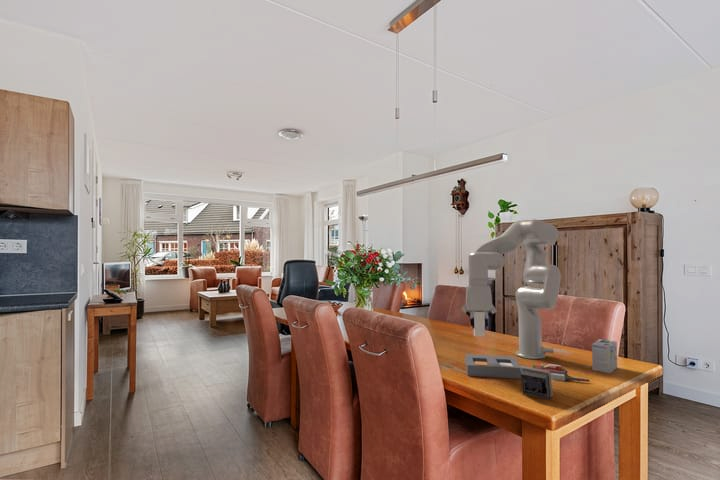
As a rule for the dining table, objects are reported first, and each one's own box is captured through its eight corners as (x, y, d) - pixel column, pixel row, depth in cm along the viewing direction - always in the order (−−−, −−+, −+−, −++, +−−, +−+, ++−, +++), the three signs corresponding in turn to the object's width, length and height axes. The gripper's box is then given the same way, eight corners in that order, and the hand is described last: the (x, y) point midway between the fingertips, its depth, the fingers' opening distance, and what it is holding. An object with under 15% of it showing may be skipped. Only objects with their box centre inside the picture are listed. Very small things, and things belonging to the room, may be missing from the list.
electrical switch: (553, 397, 124) (551, 369, 124) (549, 403, 120) (548, 374, 119) (523, 390, 130) (522, 364, 129) (519, 396, 126) (517, 369, 125)
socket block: (514, 366, 157) (514, 355, 157) (522, 378, 141) (522, 367, 142) (465, 363, 161) (464, 353, 161) (467, 375, 146) (467, 364, 146)
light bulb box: (599, 364, 159) (598, 338, 159) (618, 367, 154) (617, 341, 154) (591, 370, 151) (591, 343, 151) (611, 373, 146) (610, 346, 147)
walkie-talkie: (529, 377, 144) (590, 385, 135) (528, 366, 144) (589, 373, 135) (529, 371, 152) (587, 378, 143) (529, 360, 152) (587, 366, 143)
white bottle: (483, 334, 154) (483, 305, 155) (484, 337, 150) (484, 307, 151) (473, 334, 155) (473, 305, 155) (474, 336, 151) (474, 306, 152)
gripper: (498, 282, 155) (499, 327, 155) (456, 282, 159) (457, 325, 158) (501, 284, 148) (502, 330, 147) (457, 283, 152) (458, 329, 151)
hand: (479, 327), depth 153 cm, fingers closed on white bottle, 4 cm apart
